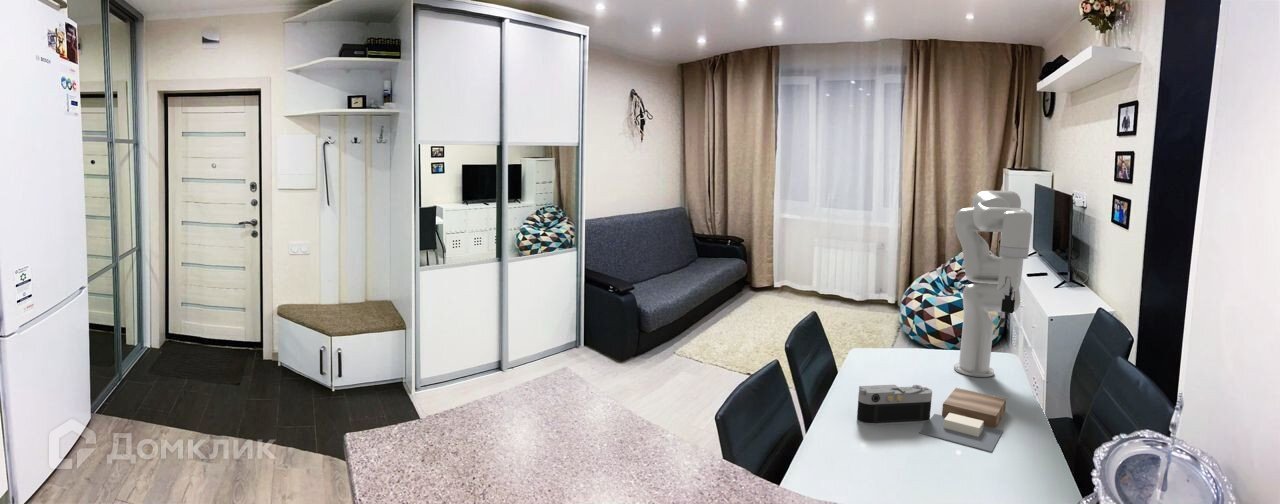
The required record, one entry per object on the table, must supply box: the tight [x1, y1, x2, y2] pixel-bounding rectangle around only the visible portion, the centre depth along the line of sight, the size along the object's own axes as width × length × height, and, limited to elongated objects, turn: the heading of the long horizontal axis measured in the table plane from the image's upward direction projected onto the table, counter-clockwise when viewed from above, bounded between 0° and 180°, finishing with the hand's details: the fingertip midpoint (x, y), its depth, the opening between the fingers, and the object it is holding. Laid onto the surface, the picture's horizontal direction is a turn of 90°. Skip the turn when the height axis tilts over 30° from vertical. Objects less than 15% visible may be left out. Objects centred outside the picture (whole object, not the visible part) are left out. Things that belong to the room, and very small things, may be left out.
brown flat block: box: [941, 387, 1007, 429], centre depth 194 cm, size 16×14×4 cm
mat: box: [918, 413, 1004, 453], centre depth 182 cm, size 16×18×1 cm
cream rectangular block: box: [943, 413, 984, 437], centre depth 183 cm, size 6×9×2 cm, turn 52°
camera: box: [856, 384, 933, 426], centre depth 190 cm, size 22×10×10 cm, turn 97°
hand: (1007, 311), depth 198 cm, fingers closed
